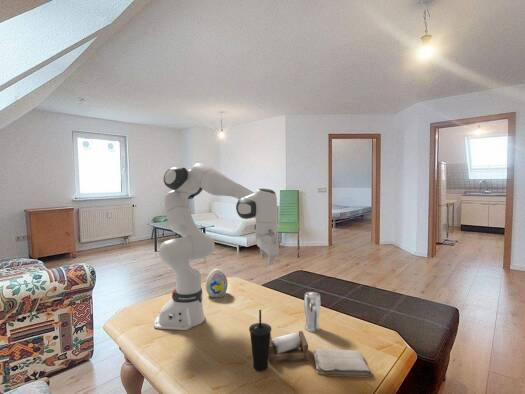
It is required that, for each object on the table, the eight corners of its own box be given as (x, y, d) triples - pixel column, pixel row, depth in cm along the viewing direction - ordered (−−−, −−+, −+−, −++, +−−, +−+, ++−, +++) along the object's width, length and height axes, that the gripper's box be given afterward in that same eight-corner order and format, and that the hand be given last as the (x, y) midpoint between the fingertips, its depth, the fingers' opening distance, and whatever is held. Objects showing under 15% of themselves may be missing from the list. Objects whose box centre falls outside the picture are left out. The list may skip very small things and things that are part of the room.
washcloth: (311, 354, 103) (311, 346, 103) (360, 355, 102) (360, 347, 102) (316, 377, 91) (317, 368, 91) (372, 378, 90) (372, 369, 90)
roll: (280, 353, 97) (276, 337, 99) (274, 354, 101) (271, 338, 103) (302, 347, 101) (298, 331, 103) (296, 348, 105) (292, 333, 107)
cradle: (268, 363, 97) (268, 346, 97) (266, 347, 106) (266, 332, 106) (307, 361, 98) (307, 344, 98) (302, 346, 107) (302, 331, 107)
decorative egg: (205, 300, 150) (205, 273, 149) (205, 291, 162) (205, 266, 161) (228, 298, 152) (228, 271, 151) (226, 289, 164) (226, 265, 163)
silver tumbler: (310, 322, 125) (310, 290, 124) (323, 328, 120) (323, 294, 119) (300, 328, 120) (301, 294, 119) (314, 334, 115) (314, 299, 114)
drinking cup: (249, 360, 99) (248, 305, 98) (270, 359, 100) (270, 304, 99) (249, 375, 91) (249, 316, 90) (272, 373, 92) (272, 315, 91)
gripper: (283, 231, 104) (283, 267, 105) (266, 224, 124) (266, 254, 125) (267, 232, 103) (267, 269, 103) (253, 224, 122) (253, 255, 123)
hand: (266, 261), depth 114 cm, fingers open, 8 cm apart
